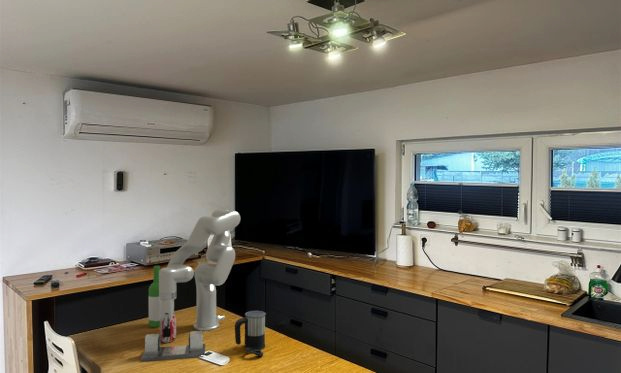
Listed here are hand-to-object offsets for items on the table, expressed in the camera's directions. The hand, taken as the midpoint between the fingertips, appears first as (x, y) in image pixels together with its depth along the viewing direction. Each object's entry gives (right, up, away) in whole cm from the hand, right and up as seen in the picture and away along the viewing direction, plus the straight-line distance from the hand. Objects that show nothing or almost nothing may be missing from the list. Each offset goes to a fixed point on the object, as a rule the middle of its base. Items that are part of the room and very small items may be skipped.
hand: (168, 333), depth 195 cm
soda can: (0, -4, 0) cm, 4 cm away
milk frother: (+41, -4, -10) cm, 43 cm away
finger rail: (+8, -4, -15) cm, 17 cm away
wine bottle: (-12, -3, +20) cm, 24 cm away
